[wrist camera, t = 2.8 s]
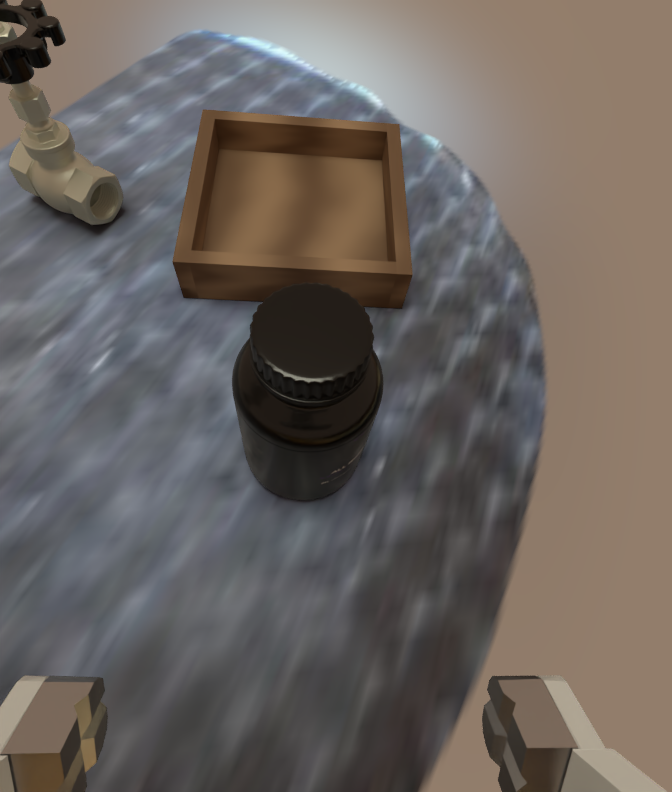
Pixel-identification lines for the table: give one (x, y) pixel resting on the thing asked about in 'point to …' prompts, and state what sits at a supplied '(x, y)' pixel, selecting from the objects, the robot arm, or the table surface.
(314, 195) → the walnut tray
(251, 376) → the supplement bottle
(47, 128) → the valve
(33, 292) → the table surface
